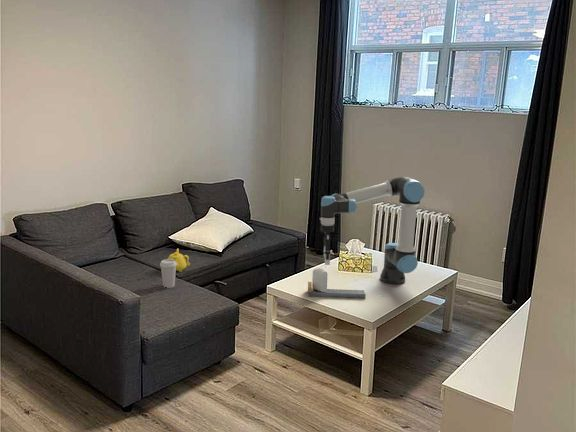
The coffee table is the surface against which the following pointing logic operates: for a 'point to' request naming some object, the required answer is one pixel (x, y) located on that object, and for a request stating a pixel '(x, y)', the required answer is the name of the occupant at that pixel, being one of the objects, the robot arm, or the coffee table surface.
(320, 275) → the photo printer
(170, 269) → the coffee cup
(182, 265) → the teapot
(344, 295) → the rail
